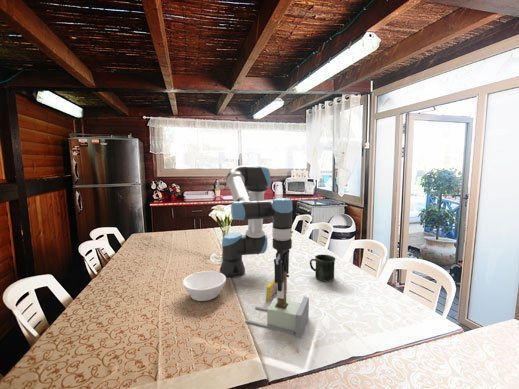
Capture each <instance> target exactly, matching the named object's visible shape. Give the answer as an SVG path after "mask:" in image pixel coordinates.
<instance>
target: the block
mask: <svg viewBox="0 0 519 389" xmlns="http://www.w3.org/2000/svg"><path fill="white" fill-rule="evenodd" d="M300 304H301V302H299V301H292V300H288V299H286V307H285V308H279V307H278V306H277V297H273V299H272V301H271V303H270V304H269V306H268V307H267V311H266V313H267V314H266V316H267V317H266V319H267V320H266V322H267V323H266V324H267V325H271V326H275V327H279V328H283V329H287V330H291V331H294V333H296V313H297V311H298V309H299V306H300Z"/></svg>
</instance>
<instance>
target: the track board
mask: <svg viewBox="0 0 519 389" xmlns="http://www.w3.org/2000/svg"><path fill="white" fill-rule="evenodd" d="M309 301H310V297H309V296H304V295H303V298H302V300H301V302H300V303H301V304H300V306H299V309H298V311H297V313H296V332H294V331H291V330H287V329H283V328H279V327H275V326H271V325H267V323H262V322H258V321H254V320H249V319H245V322H244V323H247V324H250V325H254V326H257V327H258V326H259V327H262V328H266V329H270V330H274V331H279V332H282V333H285V334H291V335H295V336H294V337H295V338H297V339H301V338H302V336H303V335H304V334H303V333H304V331H305V328H306V325H307V322H308V320H309V306H310V305H309V303H310V302H309ZM267 309H268V307H262V306H255V310H260V311H264V312H267Z"/></svg>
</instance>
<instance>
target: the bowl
mask: <svg viewBox="0 0 519 389" xmlns="http://www.w3.org/2000/svg"><path fill="white" fill-rule="evenodd" d="M226 281H227V277H225V275H224V274H222V273H220V271H215V270H214V271H213V270H203V271H197V272H194V273H191V274H189V275H187V276H186V277H184V279H183V280H182V285H183V287H184V289H185V291H186V292H188V293H189V295H190V297H191V299H193V300H194V301H198V302H199V301H200V302H206V301H211V300H213V299H216V298H217V297H218V296H219V294H220V291H221V290H222V289H223V288H224V285H225V284H226Z"/></svg>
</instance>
